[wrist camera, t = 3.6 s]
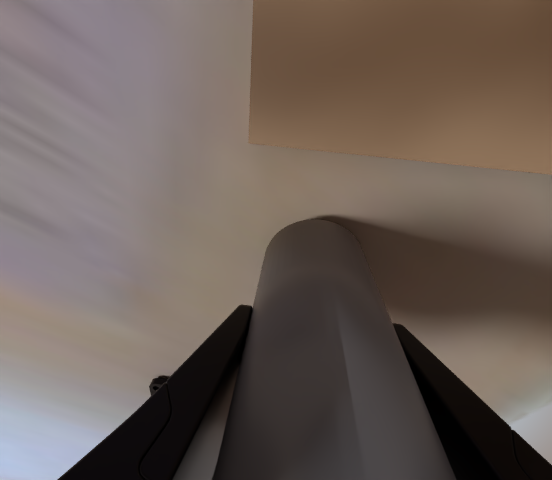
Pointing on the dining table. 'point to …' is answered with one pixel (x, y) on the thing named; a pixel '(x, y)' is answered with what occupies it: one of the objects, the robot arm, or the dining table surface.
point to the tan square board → (406, 79)
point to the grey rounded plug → (325, 374)
